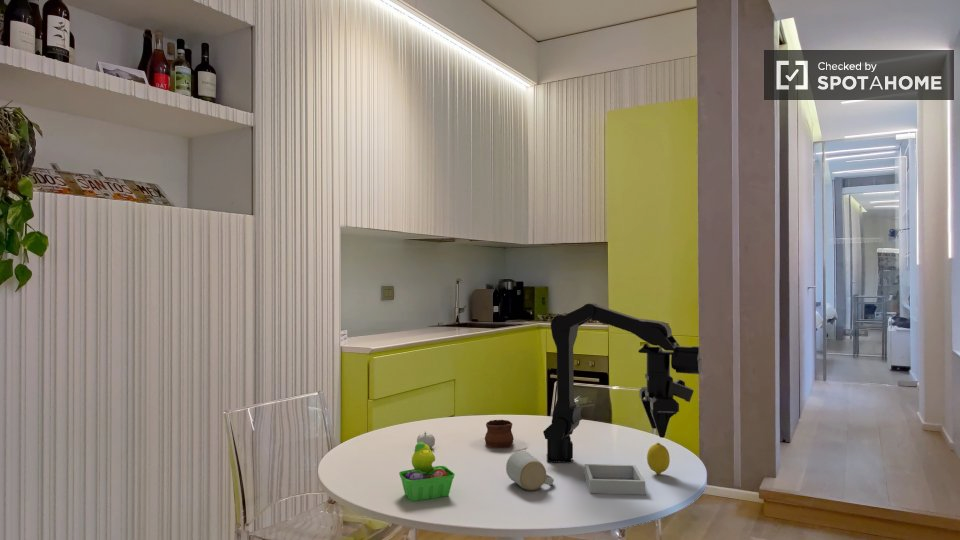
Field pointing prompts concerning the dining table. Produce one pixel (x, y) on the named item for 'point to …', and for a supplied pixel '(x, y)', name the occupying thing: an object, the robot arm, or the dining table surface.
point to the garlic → (426, 439)
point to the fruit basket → (426, 476)
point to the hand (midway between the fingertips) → (657, 432)
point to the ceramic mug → (527, 471)
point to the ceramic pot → (499, 434)
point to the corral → (614, 484)
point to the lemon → (658, 458)
